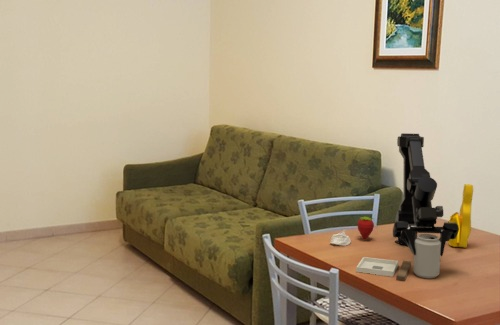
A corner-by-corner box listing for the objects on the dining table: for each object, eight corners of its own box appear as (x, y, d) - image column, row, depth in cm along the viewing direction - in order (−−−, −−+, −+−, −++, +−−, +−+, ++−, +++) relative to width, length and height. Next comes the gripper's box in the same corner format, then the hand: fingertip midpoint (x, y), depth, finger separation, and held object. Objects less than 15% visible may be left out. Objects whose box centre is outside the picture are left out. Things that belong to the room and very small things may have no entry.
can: (440, 280, 169) (442, 240, 167) (414, 278, 171) (416, 238, 169) (437, 271, 176) (439, 233, 175) (412, 270, 178) (414, 232, 176)
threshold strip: (403, 264, 184) (403, 260, 184) (411, 265, 183) (411, 261, 183) (396, 280, 169) (396, 276, 169) (404, 281, 168) (404, 277, 168)
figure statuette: (442, 238, 214) (446, 179, 211) (465, 239, 212) (468, 180, 209) (451, 252, 196) (454, 188, 193) (475, 253, 195) (479, 189, 192)
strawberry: (371, 236, 215) (372, 210, 214) (375, 242, 208) (376, 215, 207) (355, 236, 216) (356, 210, 214) (358, 242, 208) (359, 214, 207)
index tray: (363, 261, 186) (363, 256, 186) (398, 265, 182) (398, 261, 182) (356, 272, 176) (356, 266, 176) (393, 276, 172) (393, 271, 172)
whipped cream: (340, 250, 202) (340, 237, 200) (324, 245, 206) (325, 232, 205) (353, 244, 207) (354, 231, 206) (337, 239, 212) (338, 226, 210)
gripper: (395, 195, 175) (399, 240, 166) (459, 196, 173) (467, 242, 164) (390, 214, 184) (394, 258, 175) (451, 216, 182) (458, 261, 173)
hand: (428, 255), depth 171 cm, fingers closed on can, 7 cm apart
